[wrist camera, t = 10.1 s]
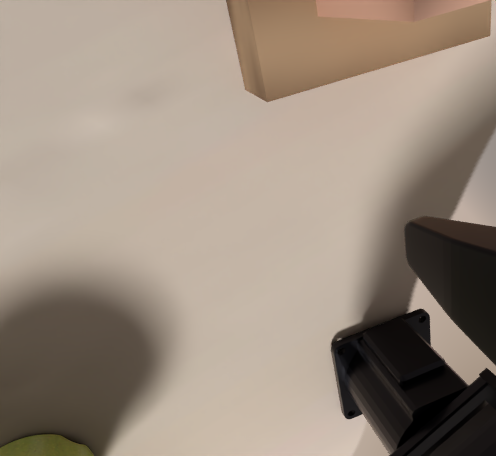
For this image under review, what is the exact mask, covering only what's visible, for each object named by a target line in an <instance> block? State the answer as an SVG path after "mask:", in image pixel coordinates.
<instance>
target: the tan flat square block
mask: <svg viewBox="0 0 496 456" xmlns="http://www.w3.org/2000/svg"><path fill="white" fill-rule="evenodd" d="M226 2H227V6H228V11H229V16H230V20H231V25H232V29H233V34H234V39H235V43H236V48H237V53H238V57H239V62H240V67H241V71H242V76H243V81H244V85H245V90H247V91H249V92H250V93H252V94H254V95H256V96H258V97H259V98H261V99H263V100H265V101H266V102H269V101H273V100H276V99H279V98H283V97H286V96H290V95H293V94H296V93H300V92H303V91H306V90H310V89H313V88H316V87H320V86H323V85H327V84H330V83H333V82H337V81H340V80H343V79H347V78H350V77H353V76H357V75H360V74H363V73H367V72H370V71H374V70H377V69H380V68H384V67H387V66H390V65H394V64H397V63H400V62H404V61H407V60H411V59H414V58H417V57H421V56H424V55H427V54H431V53H434V52H437V51H441V50H444V49H448V48H451V47H454V46H458V45H461V44H464V43H468V42H471V41H474V40H478V39H481V38H484V37H488V36H490V25H491V0H489V1H486V2H482V3H479V4H475V5H472V6H468V7H465V8H461V9H458V10H454V11H451V12H447V13H444V14H440V15H437V16H434V17H430V18H427V19H423V20H420V21H416V22H406V21H388V20H370V19H352V18H335V17H318V13H317V6H316V0H226Z"/></svg>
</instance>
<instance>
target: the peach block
mask: <svg viewBox="0 0 496 456" xmlns="http://www.w3.org/2000/svg"><path fill="white" fill-rule="evenodd" d="M486 1H489V0H316V6H317V13H318V17H335V18H352V19H370V20H388V21H406V22H416V21H420V20H423V19H427V18H430V17H434V16H437V15H440V14H444V13H447V12H451V11H454V10H458V9H461V8H465V7H468V6H472V5H475V4H479V3H482V2H486Z"/></svg>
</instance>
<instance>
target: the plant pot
mask: <svg viewBox="0 0 496 456" xmlns="http://www.w3.org/2000/svg"><path fill="white" fill-rule="evenodd" d="M0 456H94V455H93V453H92V452H91V450H90V449H89V448H88V447H87V446H86V445H84V444H77V443H74V442H72V441H70V440H68V439H66V438H64V437H63V436H61V435H54V434H42V435H34V436H29V437H25V438H22V439H19V440H16V441H13V442H11V443H8V444H7V445H5V446H3V447H1V448H0Z"/></svg>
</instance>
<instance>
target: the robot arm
mask: <svg viewBox="0 0 496 456" xmlns="http://www.w3.org/2000/svg"><path fill="white" fill-rule="evenodd" d="M404 234H405V250H406V258H407V261H408V264H409V265H410V267H411V268H412V270H413V271H414V272H415V274H416V275H417V276H418V277H419V279H420V280H421V281H422V283H423V284H424V285H425V286H426V288H427V289H428V290H429V291H430V293H431V294H432V295H433V297H434V298H435V299H436V301H437V302H438V303H439V305H440V306H441V307H442V308H443V310H444V311H445V312H446V313H447V315H448V316H449V317H450V318H451V319H452V320H453V322H454V323H455V324H456V325H457V326H458V327H459V328H460V329H461V330H462V331H463V332H464V333H465V334H466V335H467V336H468V337H469V338H470V339H471V341H472V342H473V343H474V344H475V345H476V346H478V348H479V349H480V350H481V351H482V352H483V353H484V354H485V355H486V356H487V357H488V358H489V359H490V360H491V361H492V362H493V363H494V364H495V365H496V227H492V226H485V225H480V224H473V223H467V222H460V221H454V220H447V219H441V218H434V217H428V216H422V217H419V218H416V219H413V220H411V221H408V222H407V223H406V224H405V227H404ZM420 317H421V318H420ZM341 348H342V349H341ZM339 349H341V350H339ZM331 352H332V358H333V364H334V370H335V375H336V381H337V387H338V393H339V398H340V404H341V410H342V413H343V415H344V416H345V418H347V419H352V418H354V417H357V416H359V415H361V414H363V415H364V417H365V418H366V420H367V421H368V423H369V424H370V426H371V427H372V428H373V430H374V432H375V433H376V435H377V436H378V438H379V439H380V440H381V442H382V444H383V445H384V447H385V448H386V450H387V451H388V453H389V454H390V455H389V456H496V376H495V375H494V374H493V373H492V372H491V371H490V370H488V369H487V368H486V369H485V370H484V371H482V372H481V373H480V374H479V375H480V377H478V378H477V379H476V380H475V381H474V382H473V383H472V384H471V385H467V384H466V382H465V381H464V380H463V379H462V378H461V377H460V376H459V375H458V374H457V373H456V372H455V371H454V370H453V369H452V368H451V367H450V366H449V365H447V363H446V362H445V360H444V359H443V358H442V357H441V356H440V355H439V354H438V353H437V352H436V351H435V350H434V349H433V348H432V347H431V343H430V317H429V314H428V313H427V312H426V311H425V310H423V309H418V310H415V311H413V312H410V313H408V314H405V315H403V316H400V317H398V318H395V319H393V320H390V321H388V322H385V323H382V324H380V325H377V326H375V327H372V328H370V329H367V330H365V331H362V332H360V333H357V334H354V335H352V336H349V337H347V338H344V339H342V340H339V341H337V342H335V343H334V344H333V345H332V347H331Z"/></svg>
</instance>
